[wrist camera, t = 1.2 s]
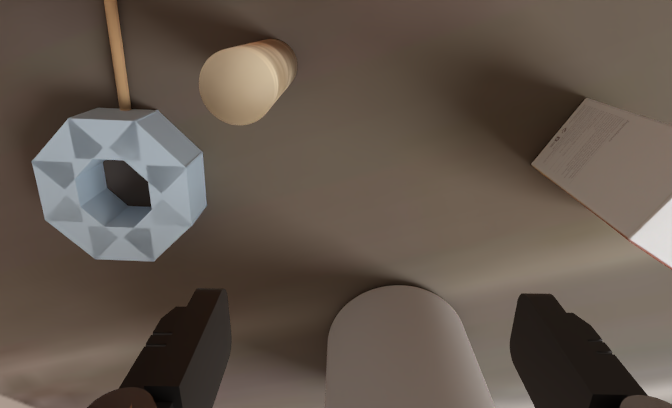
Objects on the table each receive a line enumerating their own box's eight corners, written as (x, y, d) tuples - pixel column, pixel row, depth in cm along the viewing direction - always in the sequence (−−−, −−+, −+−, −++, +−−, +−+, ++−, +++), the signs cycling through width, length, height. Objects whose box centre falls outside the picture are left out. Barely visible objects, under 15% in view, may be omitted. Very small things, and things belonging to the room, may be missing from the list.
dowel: (246, 37, 32) (195, 46, 21) (297, 39, 32) (273, 49, 21) (248, 89, 33) (201, 123, 22) (297, 91, 33) (274, 126, 22)
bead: (55, 105, 34) (20, 115, 30) (200, 111, 34) (182, 122, 30) (81, 234, 38) (53, 258, 34) (209, 239, 38) (195, 263, 34)
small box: (527, 164, 35) (625, 240, 23) (585, 95, 33) (726, 137, 21) (603, 215, 37) (731, 310, 25) (663, 151, 34) (835, 222, 22)
